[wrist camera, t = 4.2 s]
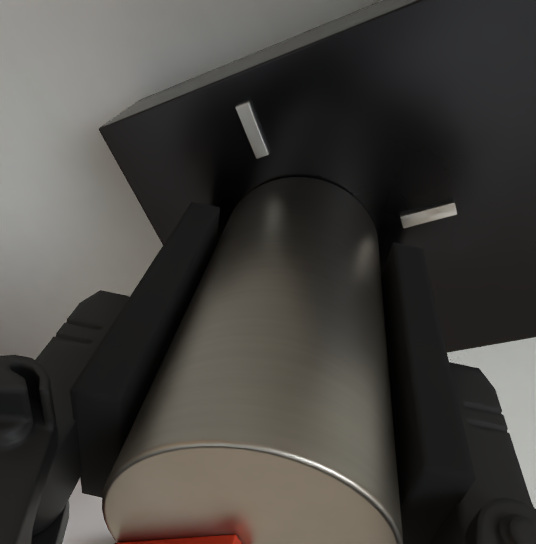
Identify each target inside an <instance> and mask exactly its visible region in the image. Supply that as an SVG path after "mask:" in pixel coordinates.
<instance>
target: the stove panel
mask: <svg viewBox="0 0 536 544" xmlns="http://www.w3.org/2000/svg"><path fill="white" fill-rule="evenodd" d="M99 131H100V133H101V134H102V136H103V138H104V140H105V142H106V143H107V145H108V147H109V149H110V151H111V152H112V154H113V156H114V158H115V160H116V161H117V163H118V165H119V167H120V169H121V170H122V172H123V174H124V176H125V178H126V179H127V181H128V183H129V185H130V187H131V188H132V190H133V192H134V194H135V195H136V197H137V199H138V201H139V203H140V204H141V206H142V208H143V210H144V212H145V213H146V215H147V217H148V219H149V221H150V222H151V224H152V226H153V228H154V230H155V231H156V233H157V235H158V237H159V239H160V240H161V242H162V244H163V245H164V244H165V242H166V241H167V239H168V237H169V236H170V234H171V233H172V231H173V230H174V228H175V227H176V225H177V224H178V222H179V220H180V219H181V217H182V216H183V214H184V213H185V211H186V210H187V208H188V207H189V205H190V203H191V202H195V203H200V204H205V205H210V206H215V207H220V213H219V223H218V233H217V243H216V246H217V244H218V241H219V239H220V237H221V235H222V233H223V231H224V229H225V226H226V224H227V222H228V220H229V218H230V216H231V214H232V212H233V210H234V209H235V207H236V206H237V205H238V203H239V202H240V201H241V200H242V199H243V198H244V197H245V196H246V195H247V194H249V193H250V192H251V191H253V190H254V189H256V188H258V187H259V186H261V185H263V184H266V183H268V182H271V181H274V180H278V179H282V178H290V177H307V178H314V179H319V180H322V181H326V182H329V183H331V184H334V185H336V186H338V187H340V188H341V189H343V190H345V191H347V192H348V193H349V194H351V195H352V196H353V197H354V198H355V199H357V200H358V201H359V202H360V203H361V204H362V206H363V207H364V208H365V209H366V211H367V212H368V214H369V216H370V217H371V219H372V221H373V223H374V226H375V228H376V232H377V237H378V246H379V258H380V270H381V277H382V274H383V271H384V268H385V265H386V262H387V259H388V256H389V253H390V250H391V247H392V244H393V242H394V243H399V244H404V245H409V246H414V247H419V248H423V252H424V257H425V261H426V265H427V270H428V274H429V278H430V283H431V287H432V291H433V296H434V300H435V304H436V309H437V313H438V317H439V322H440V326H441V330H442V335H443V339H444V343H445V348H446V352H452V351H458V350H464V349H470V348H475V347H481V346H487V345H492V344H498V343H504V342H510V341H515V340H521V339H527V338H533V337H536V0H382V1H380V2H378V3H375V4H373V5H370V6H368V7H365V8H363V9H361V10H358V11H356V12H353V13H351V14H348V15H346V16H343V17H341V18H339V19H336V20H334V21H331V22H329V23H326V24H324V25H322V26H319V27H317V28H314V29H312V30H309V31H307V32H304V33H302V34H300V35H297V36H295V37H292V38H290V39H287V40H285V41H283V42H280V43H278V44H275V45H273V46H270V47H268V48H265V49H263V50H261V51H258V52H256V53H253V54H251V55H248V56H246V57H244V58H241V59H239V60H236V61H234V62H231V63H229V64H227V65H224V66H222V67H219V68H217V69H214V70H212V71H209V72H207V73H205V74H202V75H200V76H197V77H195V78H192V79H190V80H188V81H185V82H183V83H180V84H178V85H175V86H173V87H170V88H168V89H166V90H163V91H161V92H158V93H156V94H153V95H151V96H149V97H146V98H144V99H141V100H139V101H138V102H136V103H135V104H133V105H132V106H130V107H129V108H127V109H126V110H125V111H123V112H122V113H120V114H119V115H117V116H116V117H115V118H113V119H112V120H110V121H109V122H107V123H106V124H104V125H103V126H102V127H100V128H99Z"/></svg>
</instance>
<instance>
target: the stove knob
mask: <svg viewBox="0 0 536 544" xmlns="http://www.w3.org/2000/svg"><path fill="white" fill-rule="evenodd" d="M102 510H103V515H104V520H105V522H106V525H107V527H108V530H109V531H110V533H111V534H112V536H113V538H114V539H115V541H116V542H117V543H115V544H403V534H402V522H401V510H400V498H399V486H398V474H397V462H396V450H395V438H394V426H393V414H392V402H391V390H390V378H389V366H388V354H387V342H386V330H385V318H384V306H383V294H382V282H381V270H380V258H379V246H378V237H377V232H376V228H375V226H374V223H373V221H372V219H371V217H370V216H369V214H368V212H367V211H366V209H365V208H364V207H363V206H362V204H361V203H360V202H359V201H358V200H357V199H355V198H354V197H353V196H352V195H351V194H349V193H348V192H347V191H345V190H343V189H341V188H340V187H338V186H336V185H334V184H331V183H329V182H326V181H322V180H319V179H314V178H307V177H290V178H282V179H278V180H274V181H271V182H268V183H266V184H263V185H261V186H259V187H258V188H256V189H254V190H253V191H251V192H250V193H249V194H247V195H246V196H245V197H244V198H243V199H242V200H241V201H240V202H239V203H238V205H237V206H236V207H235V209H234V210H233V212H232V214H231V216H230V218H229V220H228V222H227V224H226V226H225V229H224V231H223V233H222V235H221V237H220V239H219V241H218V244H217V246H216V248H215V250H214V252H213V254H212V256H211V259H210V261H209V263H208V265H207V267H206V269H205V271H204V274H203V276H202V278H201V280H200V282H199V284H198V286H197V289H196V291H195V293H194V295H193V297H192V299H191V301H190V304H189V306H188V308H187V310H186V312H185V314H184V316H183V319H182V321H181V323H180V325H179V327H178V329H177V331H176V334H175V336H174V338H173V340H172V342H171V344H170V346H169V349H168V351H167V353H166V355H165V357H164V359H163V361H162V364H161V366H160V368H159V370H158V372H157V374H156V376H155V379H154V381H153V383H152V385H151V387H150V389H149V391H148V394H147V396H146V398H145V400H144V402H143V404H142V406H141V409H140V411H139V413H138V415H137V417H136V419H135V421H134V424H133V426H132V428H131V430H130V432H129V434H128V436H127V439H126V441H125V443H124V445H123V447H122V449H121V451H120V454H119V456H118V458H117V460H116V462H115V464H114V466H113V469H112V471H111V473H110V475H109V477H108V479H107V482H106V484H105V487H104V491H103V498H102Z"/></svg>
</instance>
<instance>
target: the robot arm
mask: <svg viewBox="0 0 536 544" xmlns="http://www.w3.org/2000/svg"><path fill="white" fill-rule="evenodd" d="M219 213H220V207H215V206H210V205H205V204H200V203H195V202H191V203H190V205H189V207H188V208H187V210H186V211H185V213H184V214H183V216H182V217H181V219H180V220H179V222H178V224H177V225H176V227H175V228H174V230H173V231H172V233H171V234H170V236H169V237H168V239H167V241H166V242H165V244H164V245H163V247H162V248H161V250H160V251H159V253H158V254H157V256H156V258H155V259H154V261H153V262H152V264H151V265H150V267H149V268H148V270H147V271H146V273H145V275H144V276H143V278H142V279H141V281H140V282H139V284H138V285H137V287H136V288H135V290H134V291H133V293H132V295H131V296H130V297H129V296H125V295H120V294H115V293H110V292H106V291H101V290H100V291H99V292H97V293H95V294H94V295H92V296H90V297H89V298H87V299H85V300H84V301H82V302H80V303H79V305H78V306H77V307H76V309H75V310H74V311H73V312H72V314H71V315H70V316H69V318H68V319H67V322H66V323H64V324H63V325H62V327H61V328H60V329H59V330H58V332H57V333H56V337H53V338H52V339H51V341H50V342H49V343H48V345H47V346H46V347H45V348H44V350H43V351H42V352H41V354H40V355H39V356H38V357H37V359H36V360H34V359H32V358H28V357H23V356H17V355H10V356H0V544H62V542H63V538H64V534H65V530H66V526H67V522H68V518H69V501H68V499H69V497H70V495H71V494H72V492H73V490H74V488H75V486H76V484H77V482H78V480H79V478H81V486H82V493H84V494H89V495H93V496H97V497H102V498H103V491H104V487H105V484H106V482H107V479H108V477H109V475H110V473H111V471H112V469H113V466H114V464H115V462H116V460H117V458H118V456H119V454H120V451H121V449H122V447H123V445H124V443H125V441H126V439H127V436H128V434H129V432H130V430H131V428H132V426H133V424H134V421H135V419H136V417H137V415H138V413H139V411H140V409H141V406H142V404H143V402H144V400H145V398H146V396H147V394H148V391H149V389H150V387H151V385H152V383H153V381H154V379H155V376H156V374H157V372H158V370H159V368H160V366H161V364H162V361H163V359H164V357H165V355H166V353H167V351H168V349H169V346H170V344H171V342H172V340H173V338H174V336H175V334H176V331H177V329H178V327H179V325H180V323H181V321H182V319H183V316H184V314H185V312H186V310H187V308H188V306H189V304H190V301H191V299H192V297H193V295H194V293H195V291H196V289H197V286H198V284H199V282H200V280H201V278H202V276H203V274H204V271H205V269H206V267H207V265H208V263H209V261H210V259H211V256H212V254H213V252H214V250H215V248H216V243H217V233H218V223H219ZM381 282H382V294H383V306H384V318H385V330H386V342H387V354H388V366H389V378H390V390H391V402H392V414H393V426H394V438H395V450H396V462H397V474H398V486H399V498H400V510H401V522H402V534H403V544H536V509H535V508H534V507H533V505H532V502H531V500H530V497H529V493H528V490H527V487H526V484H525V481H524V478H523V475H522V472H521V469H520V465H519V462H518V459H517V456H516V453H515V450H514V447H513V444H512V441H511V437H510V434H509V433H507V429H508V428H507V425H506V422H505V419H504V416H503V415H501V412H502V409H501V406H500V403H499V400H498V397H497V394H496V391H495V389H494V387H493V386H492V385H491V383H490V382H489V381H488V379H487V378H486V377H485V376H484V374H483V373H482V372H481V370H480V369H479V368H474V367H469V366H465V365H460V364H455V363H450V362H449V361H448V356H447V352H446V348H445V343H444V339H443V335H442V330H441V326H440V322H439V317H438V313H437V309H436V304H435V300H434V296H433V291H432V287H431V283H430V278H429V274H428V270H427V265H426V261H425V257H424V252H423V248H419V247H414V246H409V245H404V244H399V243H394V242H393V244H392V247H391V250H390V253H389V256H388V259H387V262H386V265H385V268H384V271H383V274H382V277H381Z"/></svg>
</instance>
